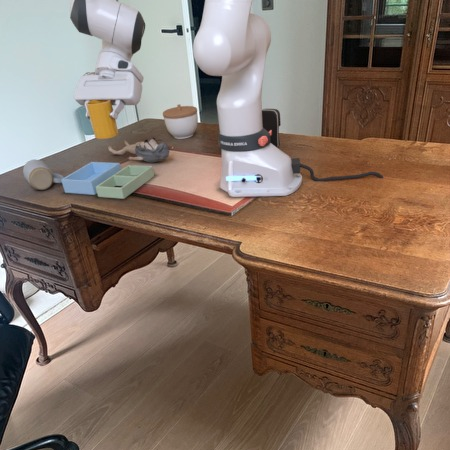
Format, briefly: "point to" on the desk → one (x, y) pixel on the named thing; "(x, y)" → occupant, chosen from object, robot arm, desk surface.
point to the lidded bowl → (181, 121)
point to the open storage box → (89, 177)
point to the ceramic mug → (40, 175)
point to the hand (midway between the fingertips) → (101, 118)
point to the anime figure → (145, 151)
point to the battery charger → (272, 124)
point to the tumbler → (102, 119)
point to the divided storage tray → (125, 181)
